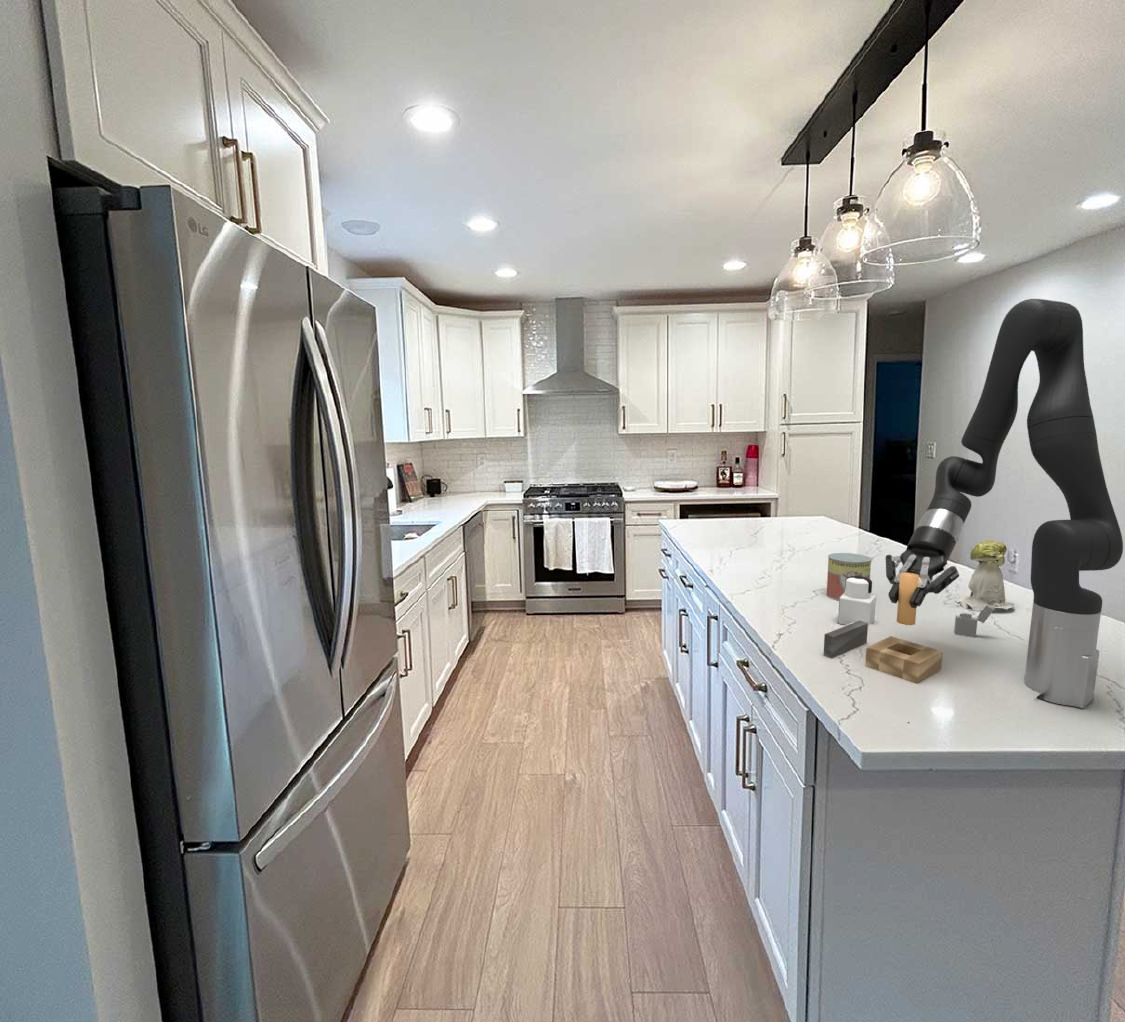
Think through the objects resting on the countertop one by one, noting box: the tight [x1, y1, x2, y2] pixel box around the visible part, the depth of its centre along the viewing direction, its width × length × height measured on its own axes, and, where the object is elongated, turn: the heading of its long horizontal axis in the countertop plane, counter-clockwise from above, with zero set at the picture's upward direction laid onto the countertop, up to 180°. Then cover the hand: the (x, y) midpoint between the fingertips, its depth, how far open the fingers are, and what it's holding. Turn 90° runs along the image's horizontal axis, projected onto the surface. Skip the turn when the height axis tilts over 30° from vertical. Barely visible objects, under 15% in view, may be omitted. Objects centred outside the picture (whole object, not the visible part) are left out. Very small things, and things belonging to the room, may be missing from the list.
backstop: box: [823, 621, 869, 659], centre depth 116 cm, size 20×14×6 cm
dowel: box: [896, 573, 920, 626], centre depth 111 cm, size 3×3×10 cm
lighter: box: [953, 604, 995, 638], centre depth 132 cm, size 7×2×8 cm, turn 59°
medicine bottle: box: [837, 576, 877, 626], centre depth 141 cm, size 7×7×12 cm
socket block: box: [865, 636, 944, 684], centre depth 113 cm, size 10×10×4 cm
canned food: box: [825, 552, 872, 602], centre depth 163 cm, size 11×11×12 cm
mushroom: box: [955, 540, 1015, 612], centre depth 151 cm, size 12×13×18 cm
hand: (902, 603), depth 110 cm, fingers closed on dowel, 3 cm apart
